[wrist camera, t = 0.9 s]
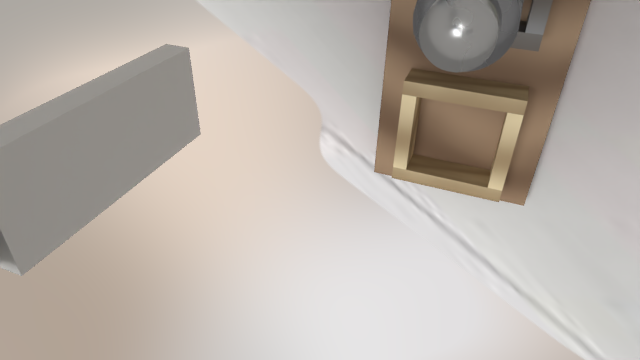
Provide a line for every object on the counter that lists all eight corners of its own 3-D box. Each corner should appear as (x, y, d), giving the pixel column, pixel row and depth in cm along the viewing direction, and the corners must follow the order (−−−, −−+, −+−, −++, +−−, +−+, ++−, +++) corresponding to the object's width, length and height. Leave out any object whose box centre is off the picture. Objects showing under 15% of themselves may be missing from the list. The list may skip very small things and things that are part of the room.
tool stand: (411, -141, 30) (395, -140, 26) (630, -135, 26) (641, -133, 23) (379, 163, 42) (365, 187, 39) (524, 195, 38) (522, 224, 35)
